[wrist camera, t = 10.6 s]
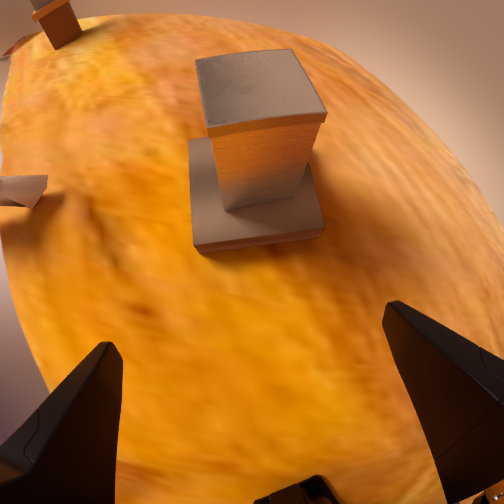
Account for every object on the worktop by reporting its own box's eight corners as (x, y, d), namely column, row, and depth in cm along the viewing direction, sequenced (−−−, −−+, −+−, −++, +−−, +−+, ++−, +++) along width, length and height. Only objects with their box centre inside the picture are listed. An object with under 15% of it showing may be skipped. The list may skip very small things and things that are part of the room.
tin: (296, 198, 22) (327, 112, 12) (223, 212, 21) (206, 128, 12) (277, 140, 23) (291, 48, 13) (211, 152, 23) (194, 59, 13)
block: (316, 239, 24) (324, 227, 21) (200, 255, 24) (193, 245, 21) (294, 146, 27) (298, 127, 24) (194, 158, 26) (188, 140, 23)
